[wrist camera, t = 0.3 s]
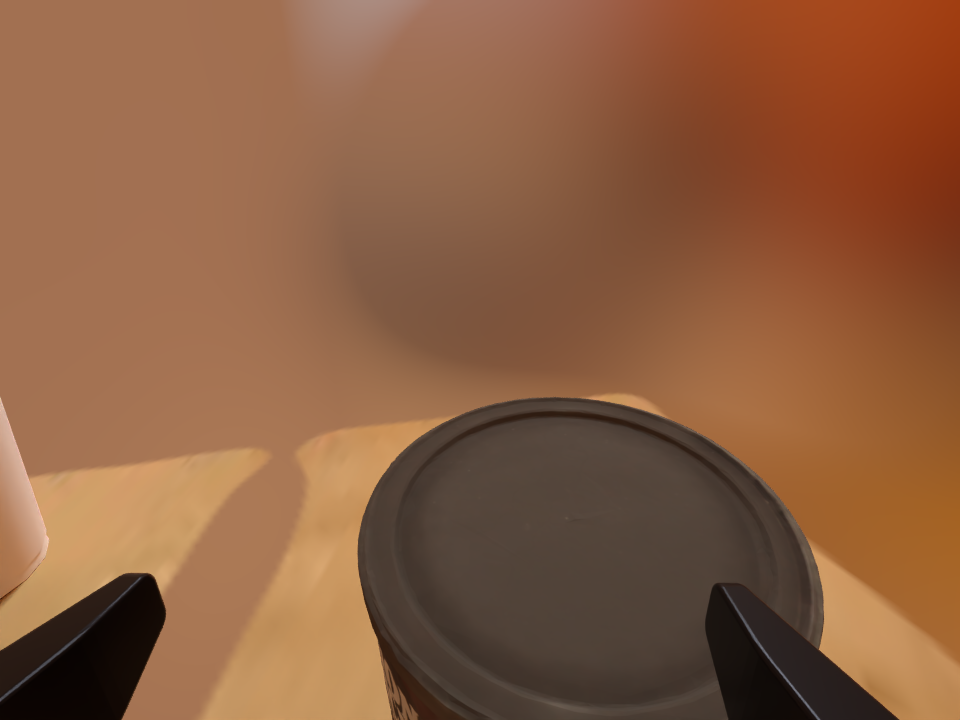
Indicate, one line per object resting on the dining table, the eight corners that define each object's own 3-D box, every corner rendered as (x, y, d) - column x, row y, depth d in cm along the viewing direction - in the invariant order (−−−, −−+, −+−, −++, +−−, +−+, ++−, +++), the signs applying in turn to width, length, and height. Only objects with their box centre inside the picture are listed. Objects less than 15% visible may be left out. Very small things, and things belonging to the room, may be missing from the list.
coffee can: (510, 1126, 13) (518, 944, 6) (369, 737, 21) (303, 466, 14) (765, 854, 18) (933, 573, 11) (571, 615, 26) (596, 363, 19)
